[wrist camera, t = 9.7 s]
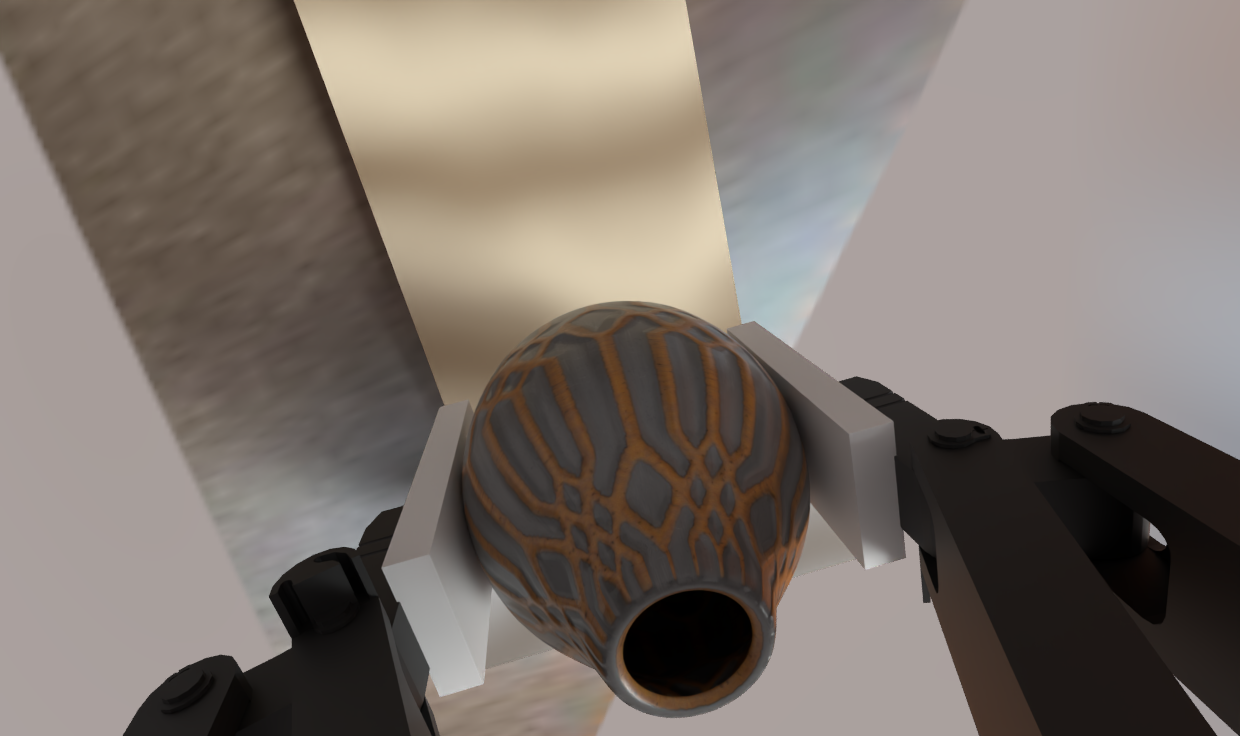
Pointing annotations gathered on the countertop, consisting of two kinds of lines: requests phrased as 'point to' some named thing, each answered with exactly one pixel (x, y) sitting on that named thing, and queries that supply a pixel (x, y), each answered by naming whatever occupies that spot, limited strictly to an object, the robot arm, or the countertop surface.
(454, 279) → the vise
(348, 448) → the countertop surface
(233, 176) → the countertop surface
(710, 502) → the vase
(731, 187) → the countertop surface
